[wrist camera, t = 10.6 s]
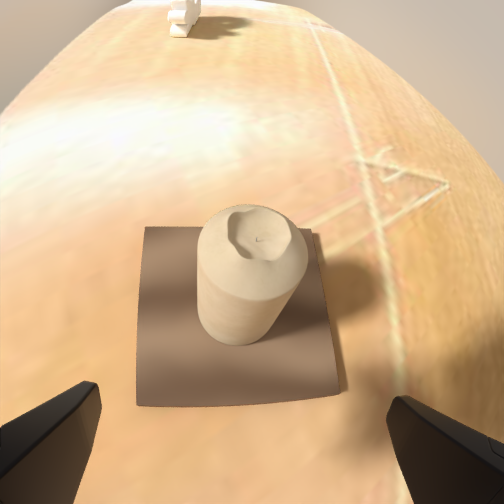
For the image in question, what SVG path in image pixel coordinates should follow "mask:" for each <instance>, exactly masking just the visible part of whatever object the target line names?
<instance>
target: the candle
mask: <svg viewBox="0 0 504 504" xmlns="http://www.w3.org/2000/svg"><path fill="white" fill-rule="evenodd" d="M307 264H308V250H307V245H306V242H305V240H304V237H303V236H302V234H301V232H300V231H299V229H298V228H297V227H296V226H295V224H294V223H293V222H292V221H290V220H289V219H288V218H287V217H285V216H284V215H282V214H281V213H279V212H277V211H275V210H273V209H270V208H267V207H264V206H259V205H237V206H232V207H229V208H226V209H224V210H222V211H220V212H218V213H217V214H215V215H214V216H213V217H212V218H210V219H209V221H208V222H207V223H206V224H205V226H204V227H203V229H202V231H201V233H200V236H199V239H198V246H197V307H198V315H199V319H200V322H201V324H202V326H203V327H204V329H205V330H206V332H207V333H208V334H209V335H210V336H211V337H213V338H214V339H216V340H217V341H219V342H221V343H224V344H227V345H232V346H242V345H247V344H250V343H253V342H255V341H257V340H258V339H260V338H261V337H263V336H264V335H265V334H266V333H267V331H268V330H269V329H270V327H271V326H272V324H273V323H274V321H275V320H276V318H277V317H278V315H279V314H280V312H281V311H282V309H283V308H284V306H285V305H286V303H287V301H288V300H289V298H290V297H291V295H292V294H293V292H294V291H295V289H296V287H297V286H298V284H299V283H300V281H301V279H302V278H303V276H304V274H305V271H306V269H307Z"/></svg>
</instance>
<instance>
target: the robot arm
mask: <svg viewBox="0 0 504 504" xmlns="http://www.w3.org/2000/svg"><path fill="white" fill-rule="evenodd" d="M101 409H102V404H101V398H100V393H99V387H98V385H97V384H96V383H94V382H89V381H83V382H81V383H79V384H77V385H75V386H74V387H72V388H70V389H68V390H66V391H65V392H63V393H61V394H59V395H57V396H56V397H54V398H52V399H50V400H48V401H47V402H45V403H43V404H41V405H39V406H38V407H36V408H34V409H32V410H30V411H28V412H26V413H25V414H23V415H21V416H19V417H17V418H15V419H14V420H12V421H10V422H8V423H6V424H4V425H2V426H1V428H0V504H73V503H74V500H75V497H76V494H77V491H78V488H79V485H80V482H81V479H82V476H83V474H84V471H85V468H86V465H87V463H88V460H89V457H90V454H91V451H92V447H93V443H94V439H95V434H96V430H97V426H98V422H99V418H100V414H101ZM386 422H387V426H388V430H389V433H390V437H391V440H392V444H393V448H394V451H395V455H396V458H397V461H398V464H399V466H400V469H401V471H402V474H403V476H404V479H405V481H406V484H407V487H408V489H409V492H410V495H411V497H412V500H413V502H414V504H504V444H503V443H501V442H499V441H497V440H494V439H492V438H490V437H487V436H486V435H484V434H482V433H480V432H478V431H476V430H474V429H472V428H470V427H468V426H466V425H464V424H462V423H460V422H458V421H456V420H454V419H452V418H450V417H448V416H446V415H444V414H442V413H440V412H438V411H436V410H434V409H432V408H430V407H428V406H427V405H425V404H423V403H421V402H419V401H417V400H415V399H413V398H411V397H410V396H407V395H402V396H397V397H395V398H394V399H393V402H392V404H391V406H390V409H389V411H388V413H387V417H386Z"/></svg>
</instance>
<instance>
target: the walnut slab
mask: <svg viewBox="0 0 504 504" xmlns="http://www.w3.org/2000/svg"><path fill="white" fill-rule="evenodd" d="M202 229H203V227H145V232H144V241H143V251H142V262H141V274H140V287H139V302H138V322H137V353H136V403H137V405H138V406H149V407H218V406H240V405H255V404H267V403H278V402H288V401H297V400H305V399H313V398H320V397H327V396H334V395H338V394H340V388H339V381H338V375H337V368H336V361H335V355H334V349H333V342H332V336H331V330H330V325H329V319H328V313H327V307H326V302H325V296H324V291H323V286H322V281H321V275H320V270H319V265H318V260H317V255H316V250H315V246H314V241H313V236H312V231H311V229H301V228H298V229H299V231H300V232H301V234H302V236H303V237H304V240H305V242H306V245H307V250H308V264H307V269H306V271H305V274H304V276H303V278H302V279H301V281H300V283H299V284H298V286H297V287H296V289H295V291H294V292H293V294H292V295H291V297H290V298H289V300H288V301H287V303H286V305H285V306H284V308H283V309H282V311H281V312H280V314H279V315H278V317H277V318H276V320H275V321H274V323H273V324H272V326H271V327H270V329H269V330H268V331H267V333H266V334H265V335H264V336H263V337H261V338H260V339H258V340H257V341H255V342H253V343H250V344H247V345H242V346H232V345H227V344H224V343H221V342H219V341H217V340H216V339H214V338H213V337H211V336H210V335H209V334H208V333H207V332H206V330H205V329H204V327H203V326H202V324H201V322H200V319H199V315H198V307H197V246H198V239H199V236H200V233H201V231H202Z"/></svg>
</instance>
